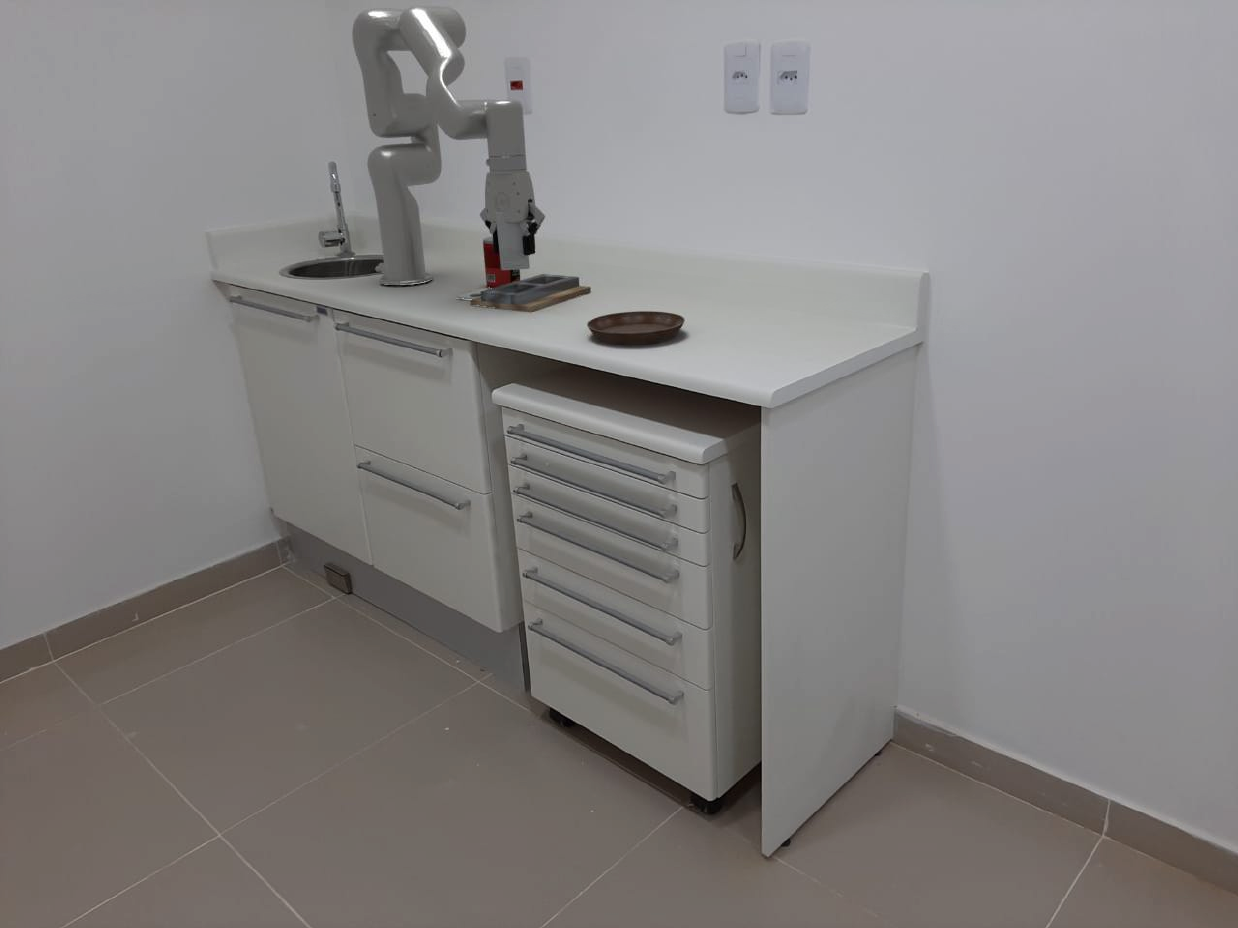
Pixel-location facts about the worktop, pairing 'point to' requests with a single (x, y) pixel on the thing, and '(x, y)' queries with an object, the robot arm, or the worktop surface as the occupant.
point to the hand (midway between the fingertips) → (514, 253)
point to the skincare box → (511, 244)
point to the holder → (532, 293)
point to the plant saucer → (636, 327)
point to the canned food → (496, 267)
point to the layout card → (472, 294)
